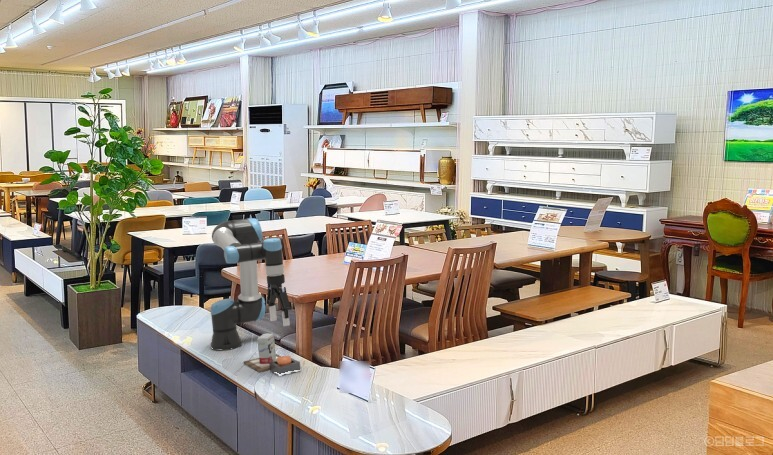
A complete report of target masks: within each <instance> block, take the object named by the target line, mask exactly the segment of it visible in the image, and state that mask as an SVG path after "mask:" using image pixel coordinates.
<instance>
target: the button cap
mask: <svg viewBox="0 0 773 455" xmlns="http://www.w3.org/2000/svg"><path fill="white" fill-rule="evenodd" d="M280 356H281V357H278V358H277V364H278V365H280V366H282V365H286V364H290V363H291V358H292V356H291V355H280Z"/></svg>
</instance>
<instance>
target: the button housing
mask: <svg viewBox="0 0 773 455" xmlns="http://www.w3.org/2000/svg"><path fill="white" fill-rule="evenodd" d="M269 367H270V370H269V372H270V373H273V374H274V372H277V373H279V374H281V373H285V372H288V371H294V370H300V369H301V362H300V361H298V360H296V359H294V358H292V357H291V363H290V364H286V365H282V366H280V365H278V364H277V361H273V362H269Z"/></svg>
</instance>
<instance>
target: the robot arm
mask: <svg viewBox="0 0 773 455" xmlns="http://www.w3.org/2000/svg"><path fill="white" fill-rule="evenodd" d="M263 238H264V236H263V230H262V226H261V223H260V221H259V220H258V219H257V218H255V217H254V218H253V217H252V218H249V217H247V218H241V219H233V220H226V221H223V222H220V223H219V224H217V225H216V226H214V228H213V231H212V232H211V239H212V242H213V243H214V244H215V246H217V247H219V248H221V249H222V250H223V257H224V260H225V263H226V264H235V265H236V264H239V265H238V266H239V283H240V284H239V285H240V294H239V295H237V300H234V299H233V298H224V299H219V300H217V301H215V302H213V303H212V304H211V305H210V315H211V324H212V335H211V336H212V337H211V342H210V348H211V347H212V348H213V349H229V350H232V349H231V348H233V349H236V348H235V347H237V348H239V347H241V346H242V345H241V344H243V343H242V339H241V337H240V335H239V332H238V329H237V324H238V325H239V324H243V323H245V324H246V323H251V322H257V321H260V320H263V318H264V317H265V314H266V310H267V309H266V305H268V309H269V311H268V312H269V318H270V319H269V321H270V322H274V321H277V320H278V319H277V318H278V317H277V309H276V308H277V306H276V300H277V299H278V302H279V304H280V307H281V317H282V324H283V327H288V326H291V322H290V310H291V309H292V307H291V303H290V299H289V296H288V292H287V288H286V286H283V284H285V283H286V280H285V274H284V271H285V270H284V269H285V266H284V260H283V245H282V241H281V239H280V238H278V237H277V238H275V237H272V238H266V239H263ZM261 260H264V263H265V275H266V284H267V293H266V300H265V297H263V296H262V294H261V293H260V292H259V285H258V284H259V281H258V280H259V279H258V261H261ZM240 345H241V346H240ZM238 346H239V347H238ZM213 349H212V350H213Z"/></svg>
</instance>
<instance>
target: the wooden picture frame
mask: <svg viewBox="0 0 773 455" xmlns="http://www.w3.org/2000/svg"><path fill="white" fill-rule="evenodd" d="M281 356H282V355H279V354H277V353H276V359H274V360H273V361H277V358H278V357H281ZM273 361H272V362H273ZM243 364H244V365H246V366H247V367H249V368H251V369H252V370H255V371H256V372H258V373H262V372H267V371H270V367H269V364H260V361H259V357H255V358H251V359H248V360H244V361H243Z"/></svg>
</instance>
